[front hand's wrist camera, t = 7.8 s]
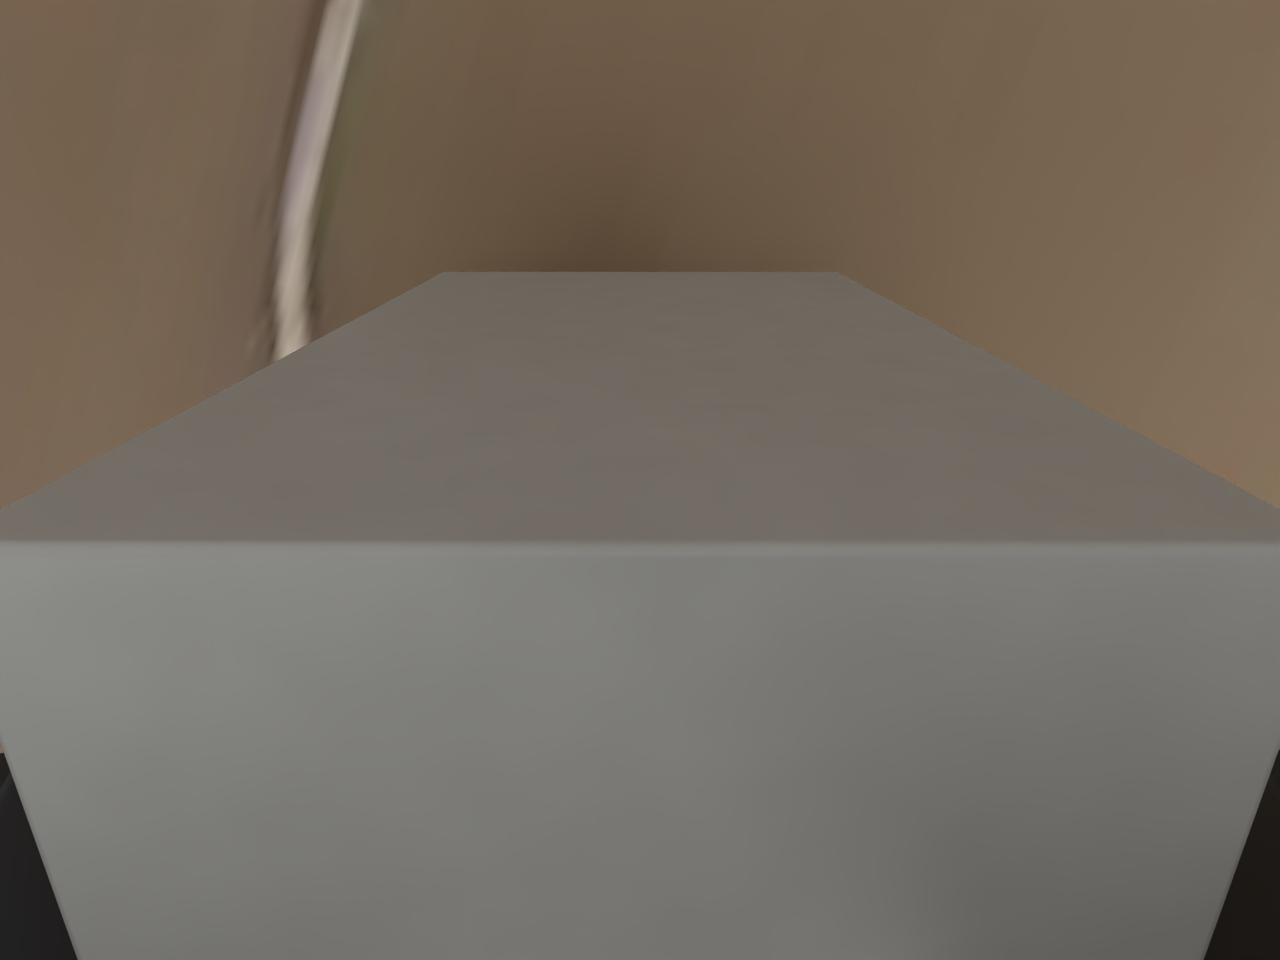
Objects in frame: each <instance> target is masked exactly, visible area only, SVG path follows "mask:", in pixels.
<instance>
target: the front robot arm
mask: <svg viewBox="0 0 1280 960" xmlns="http://www.w3.org/2000/svg"><path fill="white" fill-rule="evenodd" d="M0 960H78V959H77V956H76V953H75V951H74V948H73V945H72V942H71V939H70V937H69V934H68V931H67V928H66V925H65V923H64V920H63V917H62V914H61V911H60V909H59V906H58V903H57V900H56V897H55V894H54V892H53V889H52V886H51V883H50V880H49V878H48V875H47V872H46V869H45V866H44V864H43V861H42V858H41V855H40V852H39V850H38V847H37V844H36V841H35V838H34V836H33V833H32V830H31V827H30V824H29V822H28V819H27V816H26V813H25V810H24V808H23V805H22V802H21V799H20V796H19V794H18V791H17V788H16V785H15V782H14V780H13V777H12V774H11V771H10V768H9V766H8V763H7V760H6V757H5V754H4V753H1V754H0ZM1204 960H1280V750H1279V751H1278V753H1277V756H1276V759H1275V762H1274V765H1273V767H1272V770H1271V773H1270V776H1269V779H1268V781H1267V784H1266V787H1265V790H1264V792H1263V795H1262V798H1261V801H1260V804H1259V806H1258V809H1257V812H1256V815H1255V818H1254V820H1253V823H1252V826H1251V829H1250V832H1249V834H1248V837H1247V840H1246V843H1245V846H1244V848H1243V851H1242V854H1241V857H1240V860H1239V862H1238V865H1237V868H1236V871H1235V874H1234V876H1233V879H1232V882H1231V885H1230V887H1229V890H1228V893H1227V896H1226V899H1225V901H1224V904H1223V907H1222V910H1221V913H1220V915H1219V918H1218V921H1217V924H1216V927H1215V929H1214V932H1213V935H1212V938H1211V941H1210V943H1209V946H1208V949H1207V952H1206V955H1205V957H1204Z"/></svg>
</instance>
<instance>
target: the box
mask: <svg viewBox="0 0 1280 960" xmlns="http://www.w3.org/2000/svg"><path fill="white" fill-rule="evenodd" d="M0 743H1V746H2V749H3V752H4V754H5V757H6V760H7V763H8V766H9V768H10V771H11V774H12V777H13V780H14V782H15V785H16V788H17V791H18V794H19V796H20V799H21V802H22V805H23V808H24V810H25V813H26V816H27V819H28V822H29V824H30V827H31V830H32V833H33V836H34V838H35V841H36V844H37V847H38V850H39V852H40V855H41V858H42V861H43V864H44V866H45V869H46V872H47V875H48V878H49V880H50V883H51V886H52V889H53V892H54V894H55V897H56V900H57V903H58V906H59V909H60V911H61V914H62V917H63V920H64V923H65V925H66V928H67V931H68V934H69V937H70V939H71V942H72V945H73V948H74V951H75V953H76V956H77V959H78V960H1204V957H1205V955H1206V952H1207V949H1208V946H1209V943H1210V941H1211V938H1212V935H1213V932H1214V929H1215V927H1216V924H1217V921H1218V918H1219V915H1220V913H1221V910H1222V907H1223V904H1224V901H1225V899H1226V896H1227V893H1228V890H1229V887H1230V885H1231V882H1232V879H1233V876H1234V874H1235V871H1236V868H1237V865H1238V862H1239V860H1240V857H1241V854H1242V851H1243V848H1244V846H1245V843H1246V840H1247V837H1248V834H1249V832H1250V829H1251V826H1252V823H1253V820H1254V818H1255V815H1256V812H1257V809H1258V806H1259V804H1260V801H1261V798H1262V795H1263V792H1264V790H1265V787H1266V784H1267V781H1268V779H1269V776H1270V773H1271V770H1272V767H1273V765H1274V762H1275V759H1276V756H1277V753H1278V751H1279V748H1280V509H1278V508H1276V507H1275V506H1273V505H1271V504H1269V503H1267V502H1265V501H1263V500H1261V499H1260V498H1258V497H1256V496H1254V495H1252V494H1250V493H1248V492H1247V491H1245V490H1243V489H1241V488H1239V487H1237V486H1235V485H1234V484H1232V483H1230V482H1228V481H1226V480H1224V479H1222V478H1221V477H1219V476H1217V475H1215V474H1213V473H1211V472H1209V471H1207V470H1206V469H1204V468H1202V467H1200V466H1198V465H1196V464H1194V463H1193V462H1191V461H1189V460H1187V459H1185V458H1183V457H1181V456H1180V455H1178V454H1176V453H1174V452H1172V451H1170V450H1168V449H1166V448H1165V447H1163V446H1161V445H1159V444H1157V443H1155V442H1153V441H1152V440H1150V439H1148V438H1146V437H1144V436H1142V435H1140V434H1139V433H1137V432H1135V431H1133V430H1131V429H1129V428H1127V427H1126V426H1124V425H1122V424H1120V423H1118V422H1116V421H1114V420H1112V419H1111V418H1109V417H1107V416H1105V415H1103V414H1101V413H1099V412H1098V411H1096V410H1094V409H1092V408H1090V407H1088V406H1086V405H1085V404H1083V403H1081V402H1079V401H1077V400H1075V399H1073V398H1071V397H1070V396H1068V395H1066V394H1064V393H1062V392H1060V391H1058V390H1057V389H1055V388H1053V387H1051V386H1049V385H1047V384H1045V383H1044V382H1042V381H1040V380H1038V379H1036V378H1034V377H1032V376H1030V375H1029V374H1027V373H1025V372H1023V371H1021V370H1019V369H1017V368H1016V367H1014V366H1012V365H1010V364H1008V363H1006V362H1004V361H1003V360H1001V359H999V358H997V357H995V356H993V355H991V354H990V353H988V352H986V351H984V350H982V349H980V348H978V347H976V346H975V345H973V344H971V343H969V342H967V341H965V340H963V339H962V338H960V337H958V336H956V335H954V334H952V333H950V332H949V331H947V330H945V329H943V328H941V327H939V326H937V325H935V324H934V323H932V322H930V321H928V320H926V319H924V318H922V317H921V316H919V315H917V314H915V313H913V312H911V311H909V310H908V309H906V308H904V307H902V306H900V305H898V304H896V303H895V302H893V301H891V300H889V299H887V298H885V297H883V296H881V295H880V294H878V293H876V292H874V291H872V290H870V289H868V288H867V287H865V286H863V285H861V284H859V283H857V282H855V281H854V280H852V279H850V278H848V277H846V276H844V275H842V274H840V273H838V272H442V273H440V274H438V275H436V276H434V277H433V278H431V279H429V280H427V281H425V282H423V283H421V284H420V285H418V286H416V287H414V288H412V289H410V290H408V291H407V292H405V293H403V294H401V295H399V296H397V297H395V298H394V299H392V300H390V301H388V302H386V303H384V304H382V305H381V306H379V307H377V308H375V309H373V310H371V311H369V312H368V313H366V314H364V315H362V316H360V317H358V318H356V319H355V320H353V321H351V322H349V323H347V324H345V325H343V326H342V327H340V328H338V329H336V330H334V331H332V332H330V333H329V334H327V335H325V336H323V337H321V338H319V339H317V340H315V341H314V342H312V343H310V344H308V345H306V346H304V347H302V348H301V349H299V350H297V351H295V352H293V353H291V354H289V355H288V356H286V357H284V358H282V359H280V360H278V361H276V362H275V363H273V364H271V365H269V366H267V367H265V368H263V369H262V370H260V371H258V372H256V373H254V374H252V375H250V376H249V377H247V378H245V379H243V380H241V381H239V382H237V383H236V384H234V385H232V386H230V387H228V388H226V389H224V390H223V391H221V392H219V393H217V394H215V395H213V396H211V397H210V398H208V399H206V400H204V401H202V402H200V403H198V404H197V405H195V406H193V407H191V408H189V409H187V410H185V411H184V412H182V413H180V414H178V415H176V416H174V417H172V418H170V419H169V420H167V421H165V422H163V423H161V424H159V425H157V426H156V427H154V428H152V429H150V430H148V431H146V432H144V433H143V434H141V435H139V436H137V437H135V438H133V439H131V440H130V441H128V442H126V443H124V444H122V445H120V446H118V447H117V448H115V449H113V450H111V451H109V452H107V453H105V454H104V455H102V456H100V457H98V458H96V459H94V460H92V461H91V462H89V463H87V464H85V465H83V466H81V467H79V468H78V469H76V470H74V471H72V472H70V473H68V474H66V475H65V476H63V477H61V478H59V479H57V480H55V481H53V482H52V483H50V484H48V485H46V486H44V487H42V488H40V489H38V490H37V491H35V492H33V493H31V494H29V495H27V496H25V497H24V498H22V499H20V500H18V501H16V502H14V503H12V504H11V505H9V506H7V507H5V508H3V509H1V510H0Z"/></svg>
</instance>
